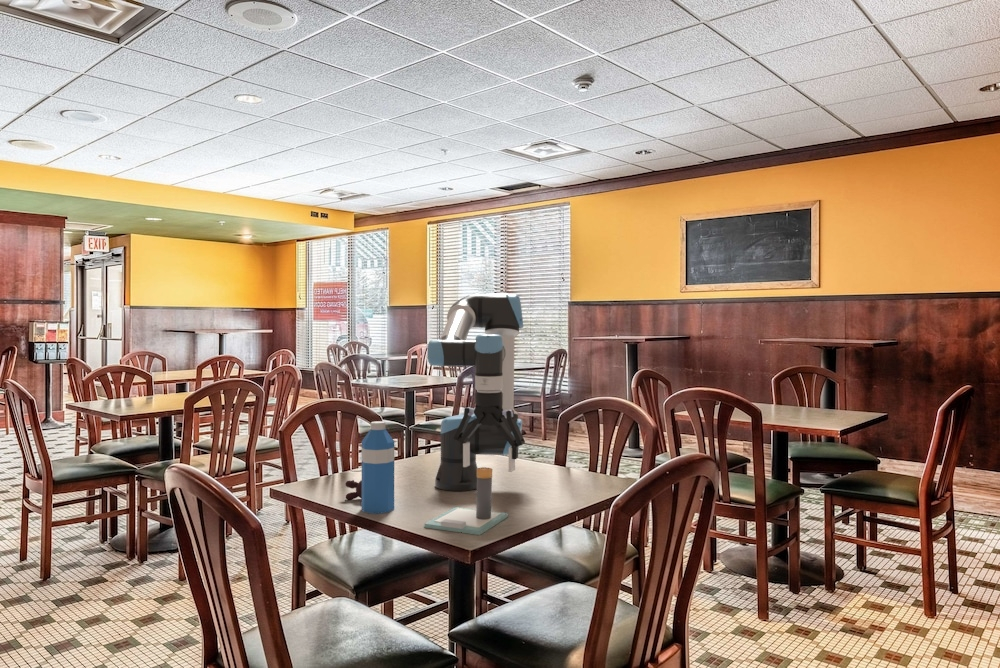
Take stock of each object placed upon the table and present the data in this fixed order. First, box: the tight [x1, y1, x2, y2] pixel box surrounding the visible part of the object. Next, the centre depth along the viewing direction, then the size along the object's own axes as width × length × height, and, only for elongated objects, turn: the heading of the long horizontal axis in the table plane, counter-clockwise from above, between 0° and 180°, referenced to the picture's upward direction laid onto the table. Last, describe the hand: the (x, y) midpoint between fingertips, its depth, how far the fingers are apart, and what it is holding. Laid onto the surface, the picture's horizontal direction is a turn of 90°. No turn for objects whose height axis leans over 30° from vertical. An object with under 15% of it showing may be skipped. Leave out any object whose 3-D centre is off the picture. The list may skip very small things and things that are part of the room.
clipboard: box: [423, 506, 509, 536], centre depth 182 cm, size 18×16×2 cm
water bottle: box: [361, 420, 395, 515], centre depth 195 cm, size 9×9×25 cm
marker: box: [475, 466, 493, 520], centre depth 182 cm, size 4×4×13 cm
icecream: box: [344, 479, 362, 500], centre depth 206 cm, size 7×7×15 cm
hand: (488, 468), depth 186 cm, fingers open, 13 cm apart
